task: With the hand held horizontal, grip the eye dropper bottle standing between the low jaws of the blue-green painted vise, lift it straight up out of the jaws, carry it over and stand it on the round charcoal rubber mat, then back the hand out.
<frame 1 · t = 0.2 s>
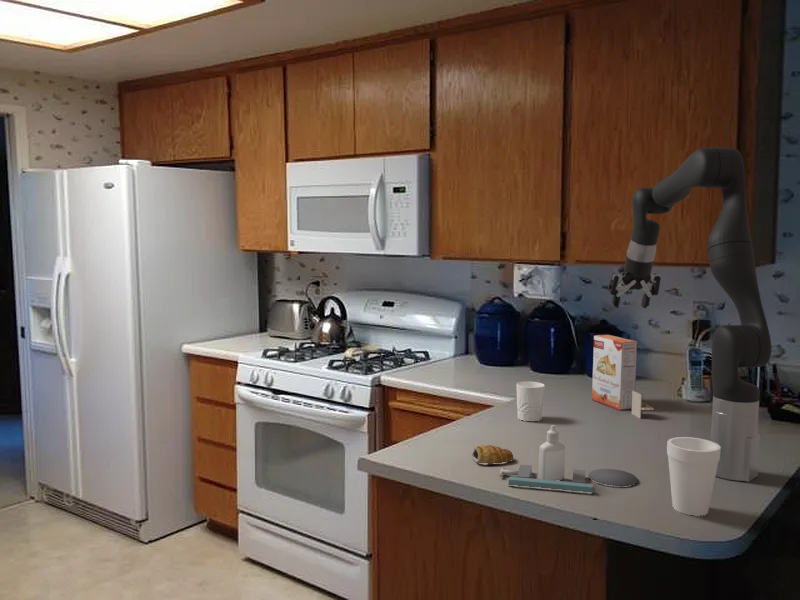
hand: (629, 306, 214), 31 cm above the countertop, tool tilted 20°, fingers open, 8 cm apart
vise: (551, 480, 156), on the countertop
mat: (612, 479, 157), on the countertop
foam cup: (690, 510, 140), on the countertop
white cup: (529, 419, 206), on the countertop
pastry: (490, 462, 169), on the countertop
cracker box: (612, 405, 224), on the countertop
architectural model: (638, 418, 211), on the countertop
eye dropper bottle: (551, 481, 156), on the countertop
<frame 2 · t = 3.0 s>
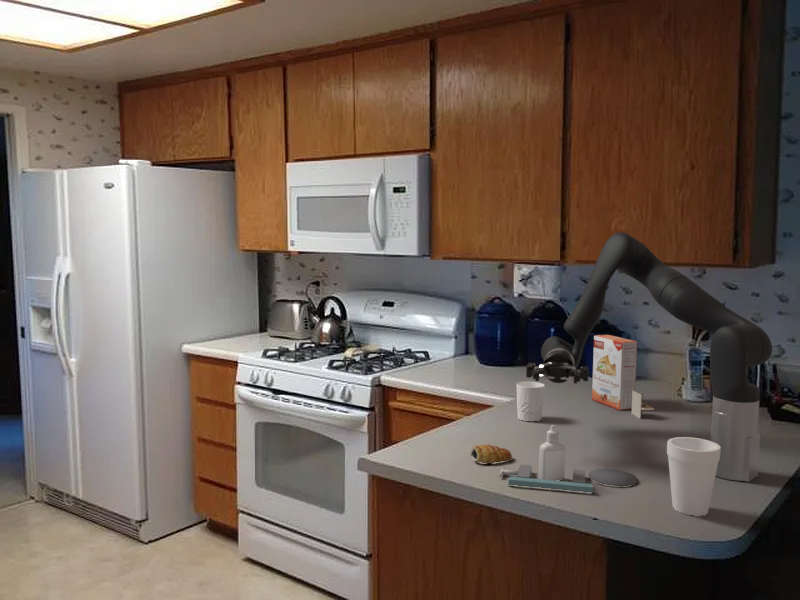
hand: (556, 377, 165), 20 cm above the countertop, tool horizontal, fingers open, 8 cm apart
cracker box: (612, 405, 224), on the countertop, touching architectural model
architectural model: (638, 418, 211), on the countertop, touching cracker box
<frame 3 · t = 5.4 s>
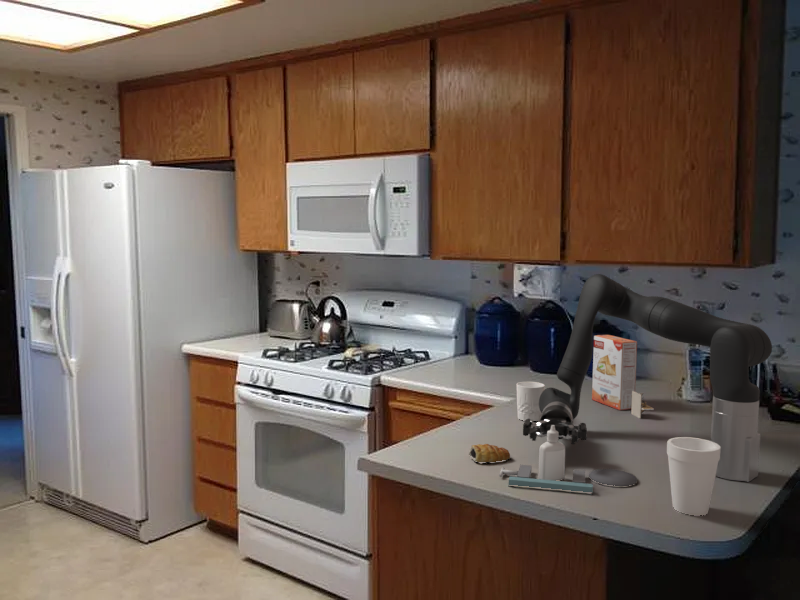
hand: (553, 438, 161), 8 cm above the countertop, tool horizontal, fingers open, 8 cm apart
cracker box: (612, 405, 224), on the countertop
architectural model: (638, 418, 211), on the countertop
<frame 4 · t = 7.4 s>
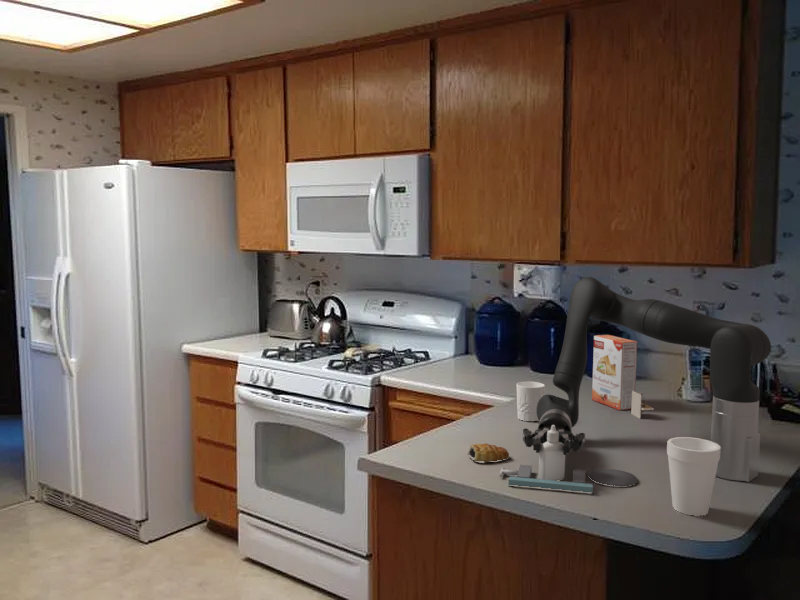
hand: (551, 449, 153), 8 cm above the countertop, tool horizontal, fingers closed on eye dropper bottle, 5 cm apart
cracker box: (612, 405, 224), on the countertop, touching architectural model
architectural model: (638, 418, 211), on the countertop, touching cracker box
eye dropper bottle: (551, 480, 156), on the countertop, touching gripper
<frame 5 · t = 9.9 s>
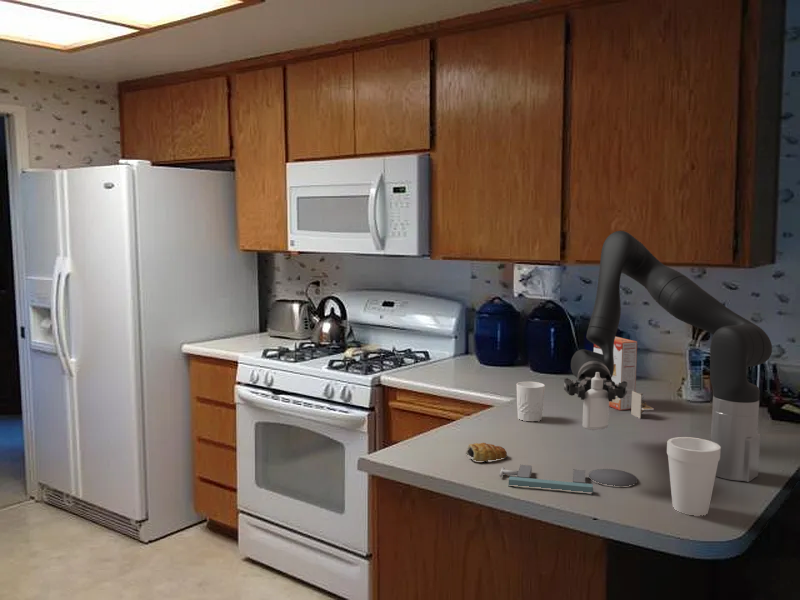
hand: (596, 395, 152), 19 cm above the countertop, tool horizontal, fingers closed on eye dropper bottle, 5 cm apart
eye dropper bottle: (595, 428, 155), point 11 cm above the countertop, touching gripper
when the fingers open (9 cm above the countertop, at t = 12.7 s): eye dropper bottle stays where it is, resting on mat.
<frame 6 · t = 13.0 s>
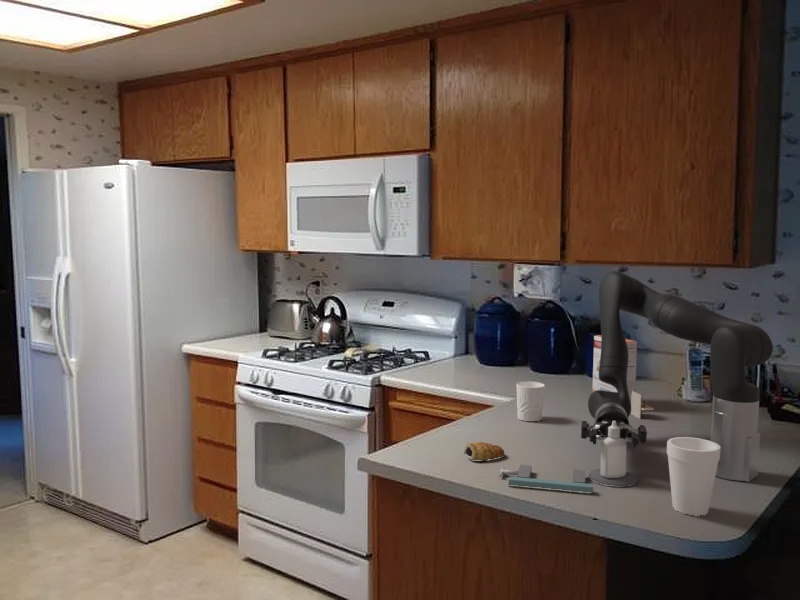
hand: (614, 441, 154), 9 cm above the countertop, tool horizontal, fingers open, 7 cm apart
cracker box: (612, 405, 224), on the countertop
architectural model: (638, 418, 211), on the countertop
eye dropper bottle: (613, 476, 157), resting on mat
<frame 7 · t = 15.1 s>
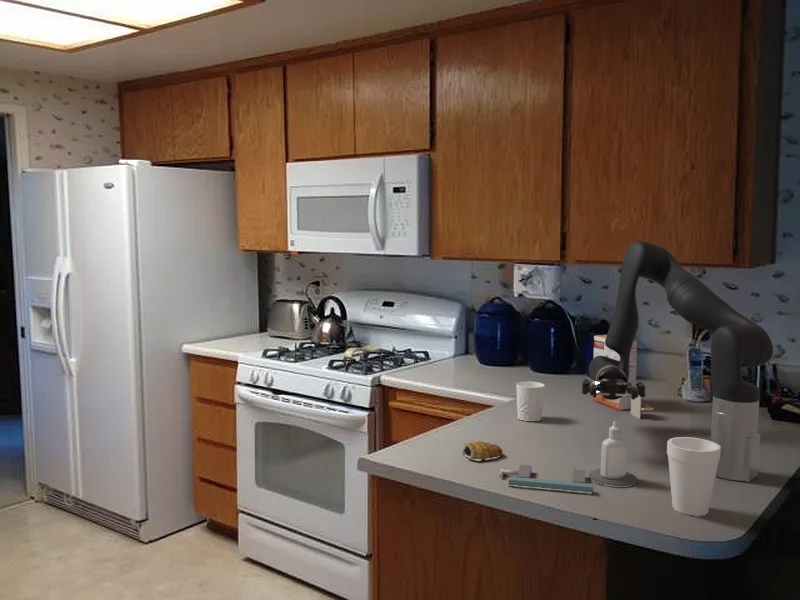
hand: (614, 394, 166), 16 cm above the countertop, tool horizontal, fingers open, 8 cm apart
cracker box: (612, 405, 224), on the countertop, touching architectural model
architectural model: (638, 418, 211), on the countertop, touching cracker box
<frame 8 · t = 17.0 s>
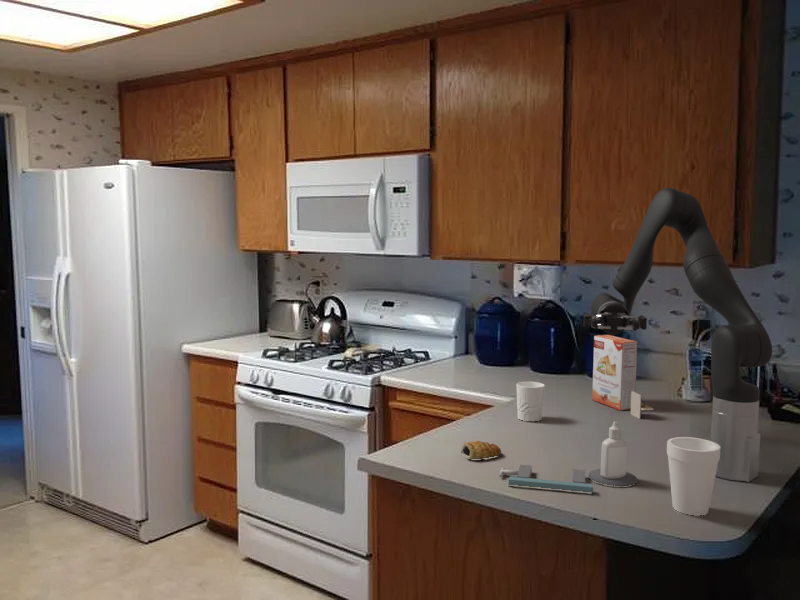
hand: (615, 325, 165), 32 cm above the countertop, tool horizontal, fingers open, 8 cm apart
cracker box: (612, 405, 224), on the countertop
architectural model: (637, 418, 211), on the countertop
at the end: eye dropper bottle 0.2 cm from the mat (horizontally); eye dropper bottle tilted 0°; the gripper is holding nothing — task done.
